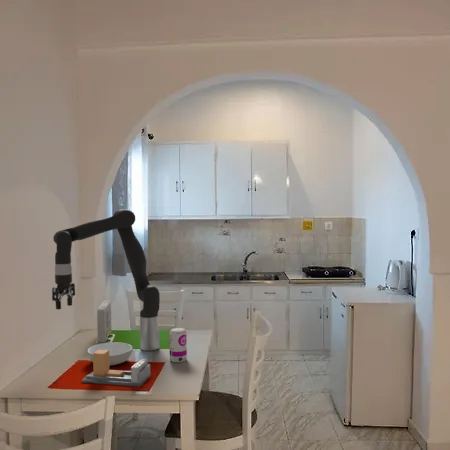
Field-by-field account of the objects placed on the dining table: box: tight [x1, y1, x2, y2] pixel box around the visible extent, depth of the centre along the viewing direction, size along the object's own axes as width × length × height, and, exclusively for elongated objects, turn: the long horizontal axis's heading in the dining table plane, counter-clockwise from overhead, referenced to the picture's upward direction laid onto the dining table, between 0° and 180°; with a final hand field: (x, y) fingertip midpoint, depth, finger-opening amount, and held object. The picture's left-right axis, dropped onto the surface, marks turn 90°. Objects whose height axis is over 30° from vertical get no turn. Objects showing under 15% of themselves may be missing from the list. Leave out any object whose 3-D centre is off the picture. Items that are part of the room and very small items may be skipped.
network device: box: [95, 300, 116, 345], centre depth 253 cm, size 26×9×20 cm, turn 6°
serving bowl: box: [87, 341, 133, 367], centre depth 215 cm, size 21×21×7 cm
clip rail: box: [81, 358, 151, 387], centre depth 193 cm, size 26×12×8 cm, turn 79°
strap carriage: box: [92, 350, 125, 377], centre depth 194 cm, size 12×5×10 cm, turn 79°
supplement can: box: [168, 327, 188, 363], centre depth 217 cm, size 8×8×15 cm
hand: (64, 307), depth 212 cm, fingers open, 8 cm apart
